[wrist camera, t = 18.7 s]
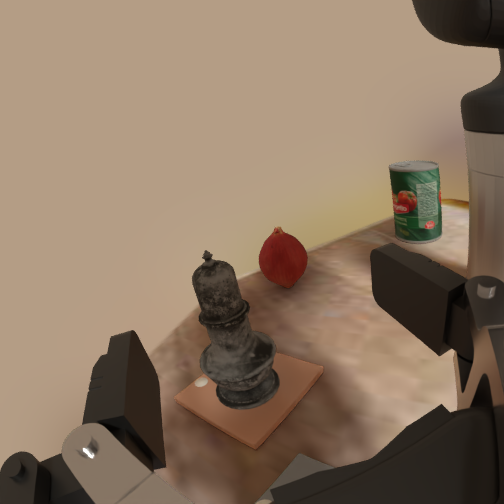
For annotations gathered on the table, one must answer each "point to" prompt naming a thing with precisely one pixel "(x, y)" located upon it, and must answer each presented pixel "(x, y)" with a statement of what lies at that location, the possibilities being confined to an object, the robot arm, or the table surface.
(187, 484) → the table surface
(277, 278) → the onion
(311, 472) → the tile one
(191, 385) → the tile two
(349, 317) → the table surface
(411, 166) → the canned tomato
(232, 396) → the salt shaker
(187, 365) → the table surface
